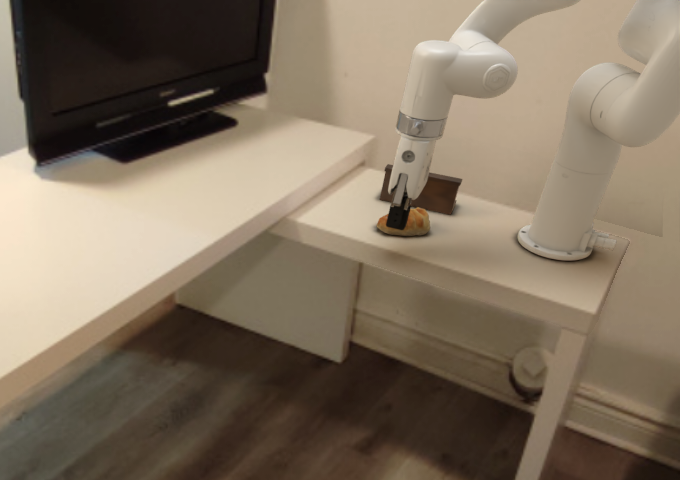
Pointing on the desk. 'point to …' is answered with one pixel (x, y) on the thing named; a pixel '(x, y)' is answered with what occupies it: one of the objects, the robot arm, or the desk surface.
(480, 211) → the desk surface
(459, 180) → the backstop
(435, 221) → the desk surface
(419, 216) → the pastry
